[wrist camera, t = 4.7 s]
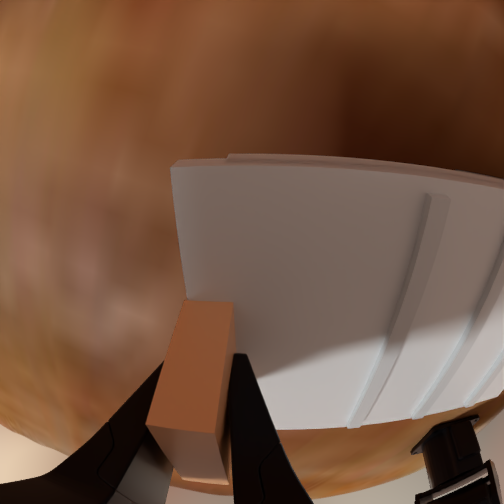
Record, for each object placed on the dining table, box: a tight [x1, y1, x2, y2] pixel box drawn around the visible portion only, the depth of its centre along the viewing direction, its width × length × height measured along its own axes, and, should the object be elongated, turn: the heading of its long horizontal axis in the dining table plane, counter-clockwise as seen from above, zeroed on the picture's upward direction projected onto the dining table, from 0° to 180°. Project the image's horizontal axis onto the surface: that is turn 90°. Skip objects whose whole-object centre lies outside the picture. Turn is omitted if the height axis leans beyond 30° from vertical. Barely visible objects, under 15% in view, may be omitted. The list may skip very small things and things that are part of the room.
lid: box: [146, 154, 504, 485], centre depth 8 cm, size 12×16×5 cm
